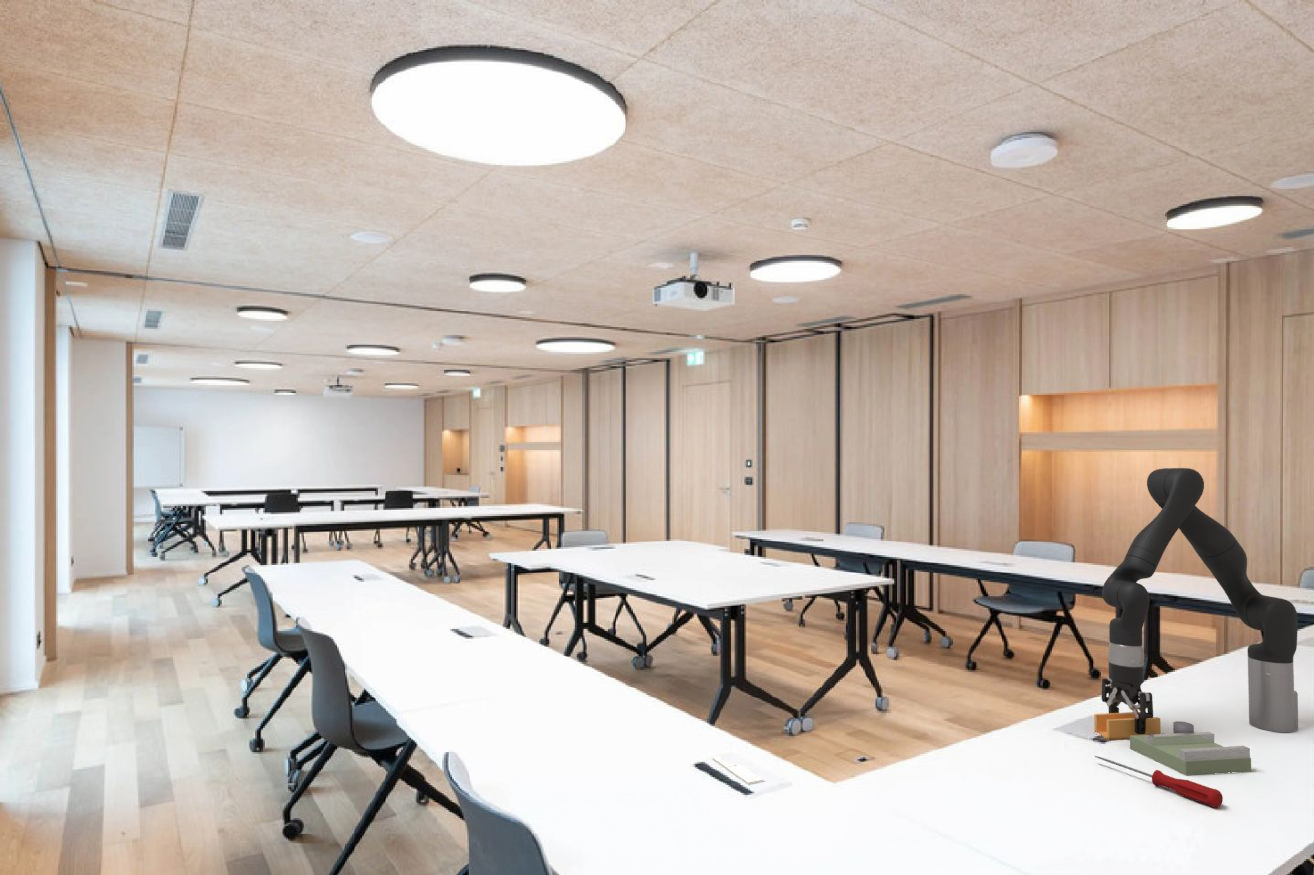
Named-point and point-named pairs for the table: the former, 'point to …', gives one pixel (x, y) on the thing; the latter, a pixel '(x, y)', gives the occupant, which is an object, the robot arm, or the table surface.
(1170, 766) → the marble run board
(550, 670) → the table surface
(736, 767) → the white flat rectangular slab
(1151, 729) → the discharge chute
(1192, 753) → the chute cradle
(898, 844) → the table surface
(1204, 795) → the screwdriver
